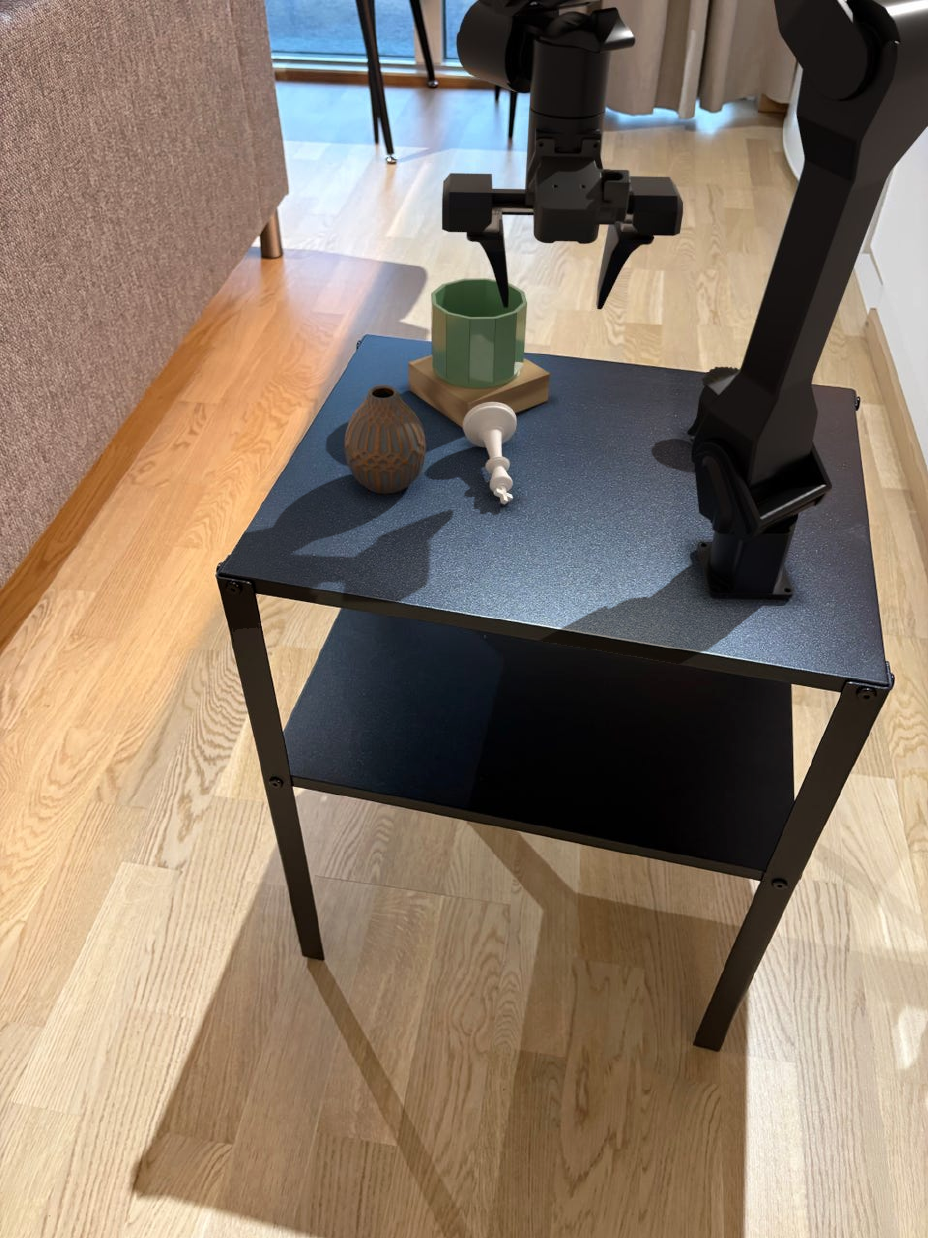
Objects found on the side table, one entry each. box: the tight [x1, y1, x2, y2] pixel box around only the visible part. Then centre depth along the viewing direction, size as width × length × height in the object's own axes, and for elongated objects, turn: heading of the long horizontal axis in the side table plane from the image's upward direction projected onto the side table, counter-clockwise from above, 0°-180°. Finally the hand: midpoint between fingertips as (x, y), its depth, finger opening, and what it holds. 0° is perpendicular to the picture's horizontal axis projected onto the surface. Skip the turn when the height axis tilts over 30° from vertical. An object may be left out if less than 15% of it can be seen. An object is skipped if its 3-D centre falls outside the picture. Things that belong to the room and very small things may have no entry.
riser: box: [407, 354, 551, 429], centre depth 99 cm, size 10×10×3 cm
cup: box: [430, 277, 528, 388], centre depth 96 cm, size 9×9×7 cm
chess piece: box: [462, 402, 517, 505], centre depth 88 cm, size 5×5×10 cm
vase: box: [344, 384, 427, 495], centre depth 85 cm, size 7×7×9 cm
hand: (552, 306), depth 85 cm, fingers open, 8 cm apart
